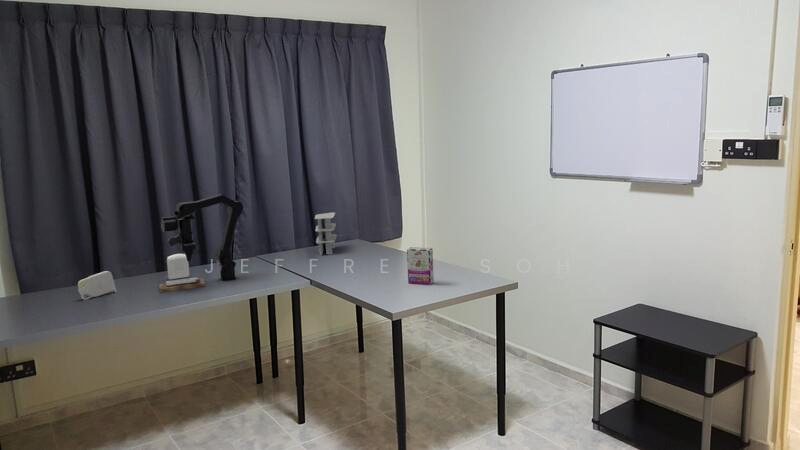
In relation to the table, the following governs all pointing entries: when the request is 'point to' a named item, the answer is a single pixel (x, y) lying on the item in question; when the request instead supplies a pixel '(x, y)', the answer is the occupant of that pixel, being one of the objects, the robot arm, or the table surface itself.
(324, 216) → the file organizer
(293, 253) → the table surface
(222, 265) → the robot arm
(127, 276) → the table surface
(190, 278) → the bar
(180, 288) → the walnut board
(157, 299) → the table surface
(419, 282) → the candy bar box
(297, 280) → the table surface
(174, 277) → the photo printer
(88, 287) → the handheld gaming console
